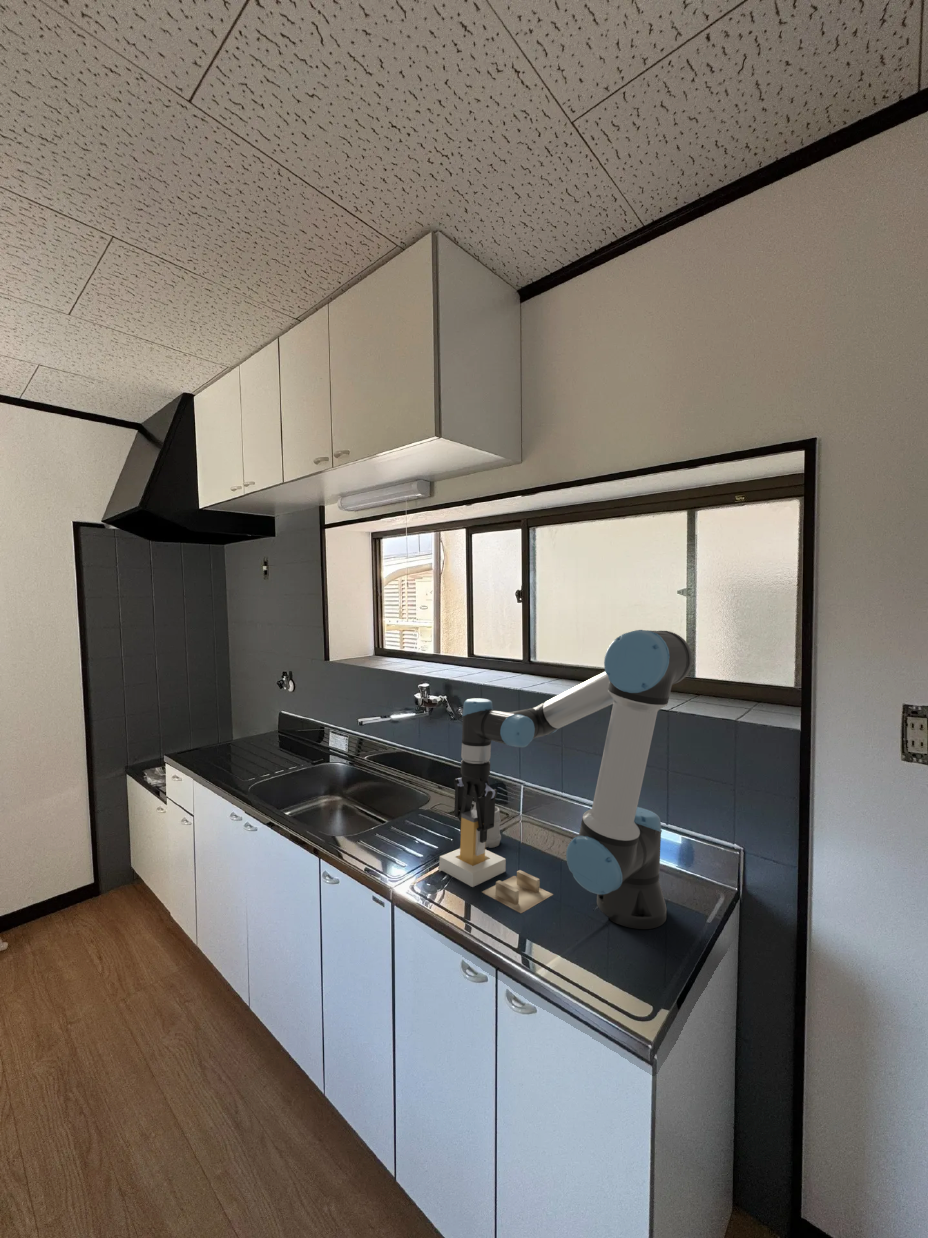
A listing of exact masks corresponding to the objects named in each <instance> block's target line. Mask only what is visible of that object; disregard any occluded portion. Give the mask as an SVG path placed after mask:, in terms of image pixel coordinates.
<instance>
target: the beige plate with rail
mask: <svg viewBox="0 0 928 1238" xmlns="http://www.w3.org/2000/svg"><path fill="white" fill-rule="evenodd" d="M540 883H541V882H540V878H538V877H537V876H534V875H532V874H529V873H527V872H525V871H523V870H521V869H519V870H517V871H516V875H512V876H510V877H509V878H507V879H505V880H503V881H502V880H497V881H495V885H493V886H491V887H487V888H486V889H485V890H483V891H481V893H483V894H484V895H486V896H488V897H489V898H491V899H494V900H495V901H497V902H499V903H501V904H503V905H505V906H506V907H508V908H510V909H511V910H513V911H515V912H518V914H519V913H520V914H523V913H525V912H526V911H528V910H530V909H532V908H533V907H535V906H536V905H538V904H540V903H542V902H543V901H545V900H547V899H549V898H550V897H552V896H554V893H552V892H549V891H547V890H545V889H543V888H541V887H540Z"/></svg>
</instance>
